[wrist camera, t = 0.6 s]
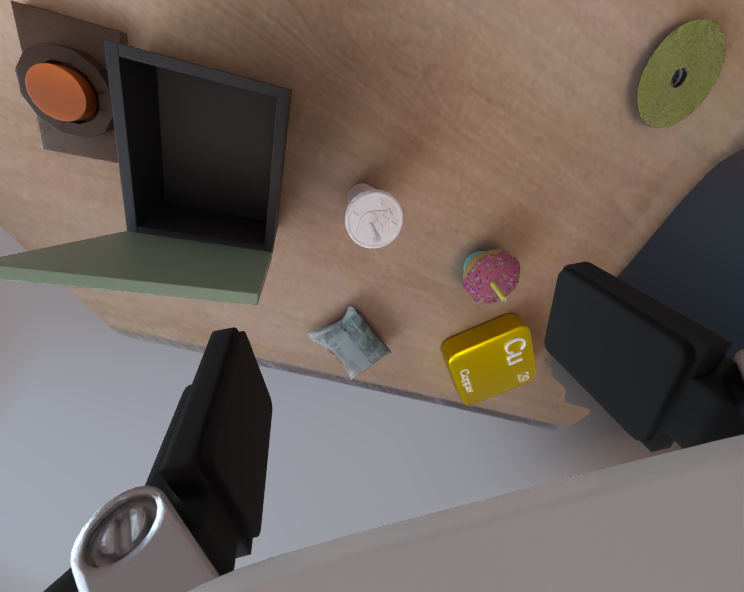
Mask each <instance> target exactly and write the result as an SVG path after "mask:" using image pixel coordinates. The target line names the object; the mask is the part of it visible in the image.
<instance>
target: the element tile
mask: <svg viewBox="0 0 744 592" xmlns="http://www.w3.org/2000/svg"><path fill="white" fill-rule="evenodd" d="M441 351H442V354H443V357H444V359H445V362H446V365H447V367H448V370H449V373H450V375H451V378H452V380H453V383H454V386H455V388H456V390H457V392H458V394H459V396H460V398H461V400H462V402H463V403H464V404H466V405H474V404H477V403H479V402H482V401H484V400H486V399H489V398H491V397H494V396H496V395H499V394H501V393H503V392H506V391H508V390H511V389H513V388H516V387H518V386H520V385H523V384H525V383H528V382H530V381H531V380H533V379H534V378H535V376H536V373H537V370H536V363H535V357H534V350H533V344H532V337H531V331H530V329H529V328H528V327H527V326H526V325H525V323H524V322H523V321H522V320H521V319H520V318H519V317H518V316H517V315H516V314H513V313H510V314H505V315H503V316H501V317H498V318H496V319H494V320H491V321H489V322H486V323H484V324H482V325H479V326H477V327H475V328H472V329H470V330H468V331H465V332H463V333H461V334H458V335H456V336H454V337H451V338H449V339H447V340H446V341H445V342H444V343H443V344H442V347H441Z"/></svg>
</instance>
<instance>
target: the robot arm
mask: <svg viewBox="0 0 744 592" xmlns="http://www.w3.org/2000/svg"><path fill="white" fill-rule="evenodd" d="M544 343H545V347H546V349H547V351H548V352H549V353H550V354H551V355H552V356H553V357H554V358H555V359H556V360H557V361H558V362H559V363H560V364H561V365H562V366H563V367H564V368H565V369H566V370H567V371H568V372H569V373H570V374H571V375H572V376H573V378H574V379H576V380H577V382H578V383H579V384H580V385H581V386H582V387H583V388H584V389H585V390H586V391H587V392H588V393H589V394H590V395H591V396H592V397H593V398H594V399H595V400H596V401H597V402H598V403H599V404H600V405H601V406H602V407H603V408H604V409H605V410H606V411H607V412H608V413H609V414H610V415H611V416H612V417H613V418H614V419H615V420H616V421H617V422H618V423H619V424H620V425H621V426H622V427H623V428H624V429H625V430H626V431H627V433H629V435H631V436H632V437H633V438H634V439H636V440H639V441H641V442H642V443H643V444H644V445H645V446H646V447H647V448H648V449H649V450H650V451H651V452H654V451H658V450H662V449H666V448H670V447H671V445H672V444H673V442H674V441H675V442H677V443H678V444H679V445H680V446H681V450H677V451H673V452H669V453H665V454H662V455H657V456H653V457H649V458H645V459H641V460H637V461H634V462H629V463H626V464H622V465H617V466H614V467H609V468H605V469H602V470H598V471H594V472H590V473H586V474H582V475H578V476H574V477H570V478H566V479H562V480H559V481H555V482H551V483H547V484H543V485H539V486H535V487H531V488H527V489H524V490H520V491H516V492H512V493H508V494H504V495H501V496H496V497H492V498H488V499H485V500H481V501H477V502H473V503H469V504H466V505H462V506H458V507H454V508H450V509H446V510H443V511H439V512H435V513H431V514H428V515H424V516H420V517H416V518H412V519H408V520H404V521H401V522H397V523H393V524H389V525H386V526H382V527H378V528H374V529H371V530H366V531H363V532H359V533H356V534H352V535H349V536H345V537H341V538H338V539H334V540H331V541H327V542H323V543H320V544H317V545H313V546H309V547H306V548H302V549H299V550H295V551H291V552H288V553H284V554H281V555H278V556H275V557H272V558H269V559H266V560H263V561H260V562H257V563H254V564H251V565H248V566H245V567H242V568H239V569H236V570H234V565H235V559H236V558H239V557H242V556H246V555H250V554H251V549H252V540H253V538H254V537H258V536H259V534H260V531H261V522H262V512H263V502H264V501H263V500H264V491H265V481H266V470H267V460H268V450H269V439H270V429H271V419H272V402H271V398H270V395H269V392H268V390H267V387H266V385H265V382H264V379H263V377H262V374H261V371H260V369H259V366H258V363H257V361H256V358H255V356H254V353H253V350H252V348H251V345H250V342H249V340H248V337H247V335H246V333H245V332H244V331H241V332H239V331H238V330H237V328H235V327H234V328H228V329H223V330H218V331H214V332H212V334H211V337H210V339H209V342H208V344H207V347H206V350H205V352H204V355H203V357H202V360H201V363H200V365H199V368H198V370H197V373H196V375H195V378H194V381H193V383H192V385H189V386H187V387H186V388H185V390H184V392H183V394H182V396H181V399H180V401H179V403H178V406H177V408H176V411H175V413H174V416H173V418H172V421H171V423H170V425H169V428H168V431H167V433H166V435H165V438H164V440H163V443H162V445H161V447H160V450H159V452H158V455H157V458H156V460H155V462H154V465H153V467H152V470H151V472H150V474H149V477H148V479H147V482H146V484H145V486H141V487H135V488H133V489H130V490H128V491H126V492H123V493H121V494H120V495H118V496H117V497H115V498H113V499H112V500H110V501H109V502H107V503H106V504H105V505H104V506H103V507H102V508H101V509H99V510H98V511H97V512H96V513H95V514H94V515H93V516H92V518H91V519H90V520H89V521H88V522H87V524H86V525H85V526H84V527H83V529H82V531H81V532H80V534H79V536H78V538H77V539H76V541H75V544H74V547H73V550H72V553H71V568H70V569H69V570H68V571H66V572H65V573H64V574H63V575H62V576H61V577H60V578H58V579H57V580H56V581H55V582H54V583H53V584H52V585H50V586H49V587H48V588H47V589H46V590H45V591H44V592H744V349H743V350H740V351H738V353H737V354H736V355H735V357H734V358H733V360H732V359H731V358H729V357H727V356H726V355H725V354H726V353H727V350H728V349H729V347H730V346H731V344H732V342H730V341H728V340H727V339H725V338H723V337H721V336H720V335H718V334H716V333H714V332H712V331H711V330H709V329H707V328H705V327H704V326H702V325H700V324H698V323H696V322H695V321H693V320H691V319H689V318H688V317H686V316H684V315H682V314H680V313H679V312H677V311H675V310H673V309H671V308H670V307H668V306H666V305H664V304H663V303H661V302H659V301H657V300H655V299H654V298H652V297H650V296H648V295H647V294H645V293H643V292H641V291H639V290H638V289H636V288H634V287H632V286H631V285H629V284H627V283H625V282H623V281H622V280H620V279H618V278H616V277H615V276H613V275H611V274H609V273H607V272H606V271H604V270H602V269H600V268H599V267H597V266H595V265H593V264H591V263H589V262H581V263H576V264H570V265H567V266H565V267H564V268H563V270H562V271H561V272H560V273H559V275H558V279H557V283H556V288H555V293H554V298H553V302H552V307H551V312H550V316H549V321H548V326H547V331H546V335H545V341H544ZM233 570H234V571H233Z"/></svg>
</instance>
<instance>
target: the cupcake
mask: <svg viewBox="0 0 744 592" xmlns="http://www.w3.org/2000/svg"><path fill="white" fill-rule="evenodd" d="M463 272H464V274H463V276H462V281H463V288H464V290H465V292H466V293H467V294H468V295H469V296H470V297H471V298H472V299H473V300H474V301H478V302H481V303H491V302H496V301H499V300H502V301H504V302H505V303H506V296H507V295H508V294H510V292H511V291H513V289H514V288H515V287H516V285H517V283H518V282H519V281H518V280H519V276H520V266H519V261H518V260H517V258H516V257H514V256H513V255H511V254H510V253H508V252H507V251H505V250H503V249H500V248H498V249H494V250H490V251H476V252H474V253H472V254H470V255H469V256H468V257H467V258H466V260H465V261H464V264H463Z"/></svg>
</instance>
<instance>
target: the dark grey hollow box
mask: <svg viewBox="0 0 744 592" xmlns="http://www.w3.org/2000/svg"><path fill="white" fill-rule="evenodd" d="M104 46H105V54H106V62H107V70H108V79H109V87H110V95H111V103H112V111H113V119H114V128H115V136H116V144H117V152H118V160H119V168H120V177H121V185H122V193H123V201H124V209H125V217H126V226H127V232H134V233H141V234H148V235H155V236H162V237H169V238H176V239H183V240H190V241H197V242H204V243H211V244H218V245H225V246H232V247H239V248H246V249H253V250H260V251H267V252H272V253H273V248H274V242H275V237H276V232H277V227H278V217H279V208H280V198H281V188H282V179H283V169H284V159H285V150H286V140H287V130H288V121H289V111H290V101H291V92H292V90H290V89H286V88H283V87H279V86H275V85H272V84H268V83H264V82H261V81H257V80H253V79H250V78H246V77H242V76H239V75H235V74H231V73H228V72H224V71H220V70H217V69H213V68H209V67H206V66H202V65H198V64H195V63H191V62H187V61H184V60H180V59H176V58H173V57H169V56H165V55H162V54H158V53H154V52H151V51H147V50H143V49H140V48H136V47H132V46H128V45H125V44H121V43H117V42H113V41H110V40H106V39H104Z"/></svg>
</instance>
